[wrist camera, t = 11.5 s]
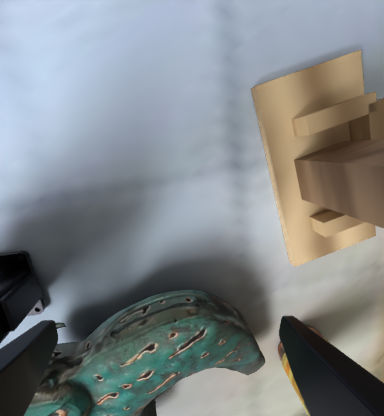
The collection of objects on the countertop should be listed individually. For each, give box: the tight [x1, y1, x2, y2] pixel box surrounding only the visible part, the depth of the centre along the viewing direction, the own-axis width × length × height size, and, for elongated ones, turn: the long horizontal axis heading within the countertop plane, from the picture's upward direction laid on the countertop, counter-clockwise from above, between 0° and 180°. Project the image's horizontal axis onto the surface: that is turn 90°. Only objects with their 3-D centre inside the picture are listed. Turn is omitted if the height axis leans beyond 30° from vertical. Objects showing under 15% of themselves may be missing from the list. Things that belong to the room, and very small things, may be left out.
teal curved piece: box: [24, 290, 265, 416], centre depth 20 cm, size 20×6×20 cm
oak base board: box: [251, 50, 384, 267], centre depth 20 cm, size 10×18×3 cm, turn 19°
